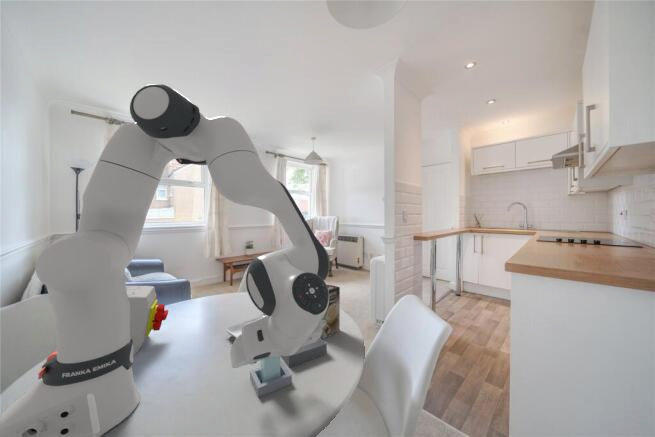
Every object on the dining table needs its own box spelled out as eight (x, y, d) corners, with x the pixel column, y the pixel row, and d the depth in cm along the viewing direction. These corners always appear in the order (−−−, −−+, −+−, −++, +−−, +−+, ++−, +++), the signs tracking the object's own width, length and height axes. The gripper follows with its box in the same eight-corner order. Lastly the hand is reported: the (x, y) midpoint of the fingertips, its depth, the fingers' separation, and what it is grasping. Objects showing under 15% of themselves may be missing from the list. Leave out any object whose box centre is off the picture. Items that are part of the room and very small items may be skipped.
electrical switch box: (157, 357, 74) (168, 293, 76) (94, 364, 67) (107, 293, 69) (164, 337, 87) (173, 282, 89) (112, 340, 80) (123, 281, 82)
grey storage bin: (258, 401, 53) (258, 388, 53) (250, 382, 59) (249, 370, 59) (291, 387, 58) (291, 375, 58) (280, 371, 64) (280, 360, 64)
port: (289, 371, 64) (289, 354, 64) (275, 351, 73) (275, 337, 73) (326, 357, 70) (326, 341, 70) (309, 341, 80) (309, 327, 80)
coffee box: (324, 339, 80) (324, 292, 80) (310, 334, 84) (310, 289, 84) (340, 330, 88) (340, 286, 88) (326, 325, 92) (326, 283, 92)
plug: (264, 387, 56) (264, 342, 56) (260, 380, 59) (260, 337, 59) (280, 381, 58) (280, 338, 58) (276, 374, 61) (276, 333, 61)
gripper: (323, 306, 57) (305, 330, 65) (234, 327, 46) (226, 353, 54) (334, 332, 53) (313, 354, 61) (239, 362, 42) (229, 384, 51)
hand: (271, 354), depth 58 cm, fingers open, 8 cm apart
